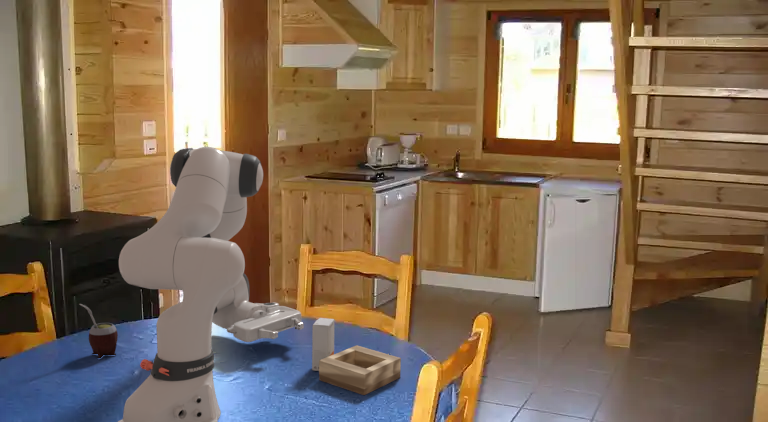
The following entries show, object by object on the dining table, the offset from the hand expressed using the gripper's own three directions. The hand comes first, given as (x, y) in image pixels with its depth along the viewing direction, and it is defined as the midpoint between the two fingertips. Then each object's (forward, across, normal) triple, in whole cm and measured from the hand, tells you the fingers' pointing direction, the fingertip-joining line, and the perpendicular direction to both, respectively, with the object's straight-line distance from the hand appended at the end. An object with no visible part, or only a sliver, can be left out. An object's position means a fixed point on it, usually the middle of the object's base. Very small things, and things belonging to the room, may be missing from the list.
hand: (289, 330), depth 198 cm
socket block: (+24, 0, +7) cm, 25 cm away
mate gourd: (-37, -31, +7) cm, 49 cm away
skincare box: (+12, 0, +7) cm, 14 cm away
